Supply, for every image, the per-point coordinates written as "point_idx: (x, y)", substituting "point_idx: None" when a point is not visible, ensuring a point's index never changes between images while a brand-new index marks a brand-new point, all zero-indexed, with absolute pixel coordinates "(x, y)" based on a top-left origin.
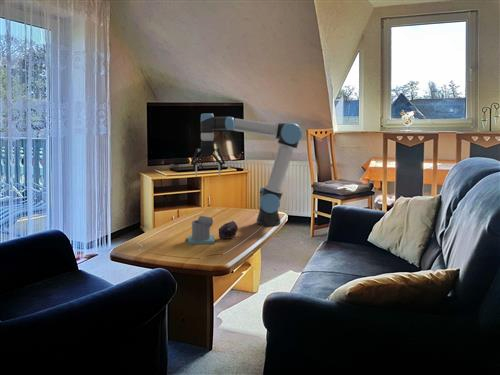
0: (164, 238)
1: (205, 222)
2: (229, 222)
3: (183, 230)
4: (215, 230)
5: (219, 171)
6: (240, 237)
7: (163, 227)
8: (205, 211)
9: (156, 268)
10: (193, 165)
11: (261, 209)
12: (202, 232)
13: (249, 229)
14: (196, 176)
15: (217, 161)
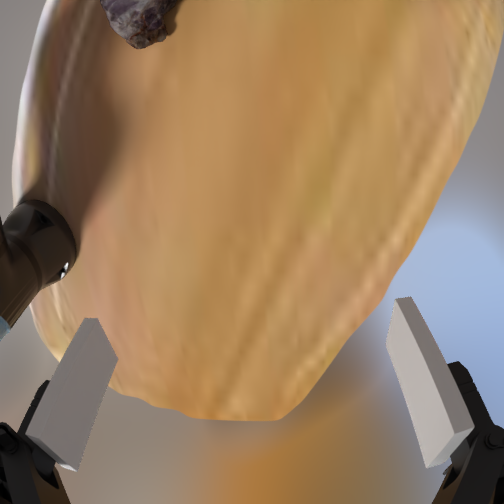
0: (424, 4)
1: None
2: (128, 5)
3: (366, 115)
4: (219, 111)
5: (67, 363)
6: None
7: (441, 175)
8: (278, 392)
9: None
10: (496, 426)
11: (25, 251)
12: None
13: (82, 143)
14: (403, 299)
15: (39, 500)
